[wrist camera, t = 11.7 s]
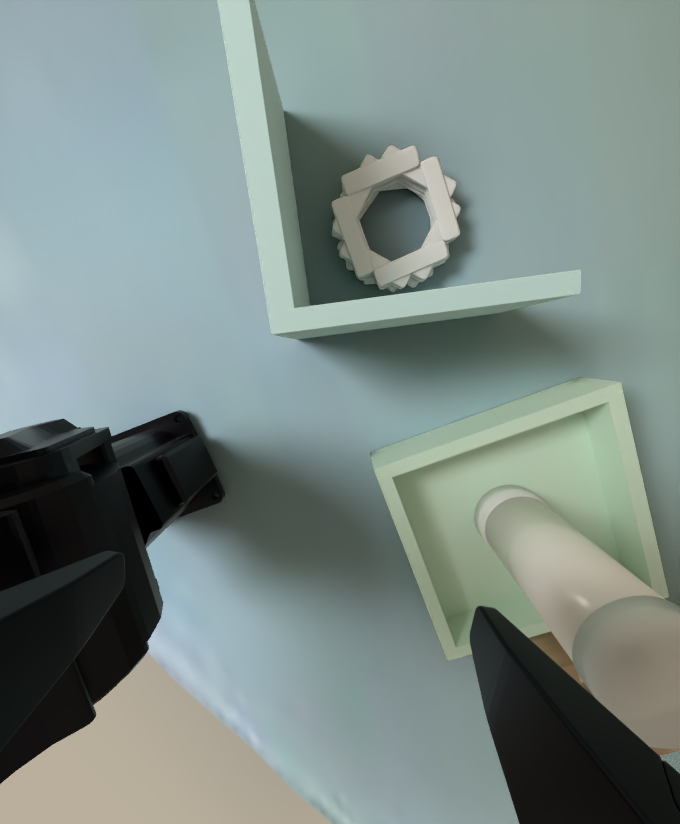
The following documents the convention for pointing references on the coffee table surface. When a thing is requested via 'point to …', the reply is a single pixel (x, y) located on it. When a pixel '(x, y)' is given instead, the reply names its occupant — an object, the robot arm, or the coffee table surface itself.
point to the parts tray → (527, 467)
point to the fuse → (592, 611)
